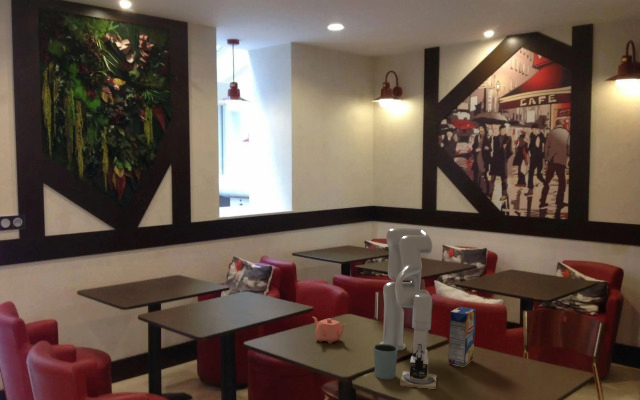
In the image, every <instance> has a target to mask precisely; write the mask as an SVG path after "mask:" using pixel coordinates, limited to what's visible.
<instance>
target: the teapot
mask: <svg viewBox="0 0 640 400" xmlns="http://www.w3.org/2000/svg"><path fill="white" fill-rule="evenodd" d="M312 319H314V329H315V333H314V334H315V338H316V339H317V340H318V341H319V342H327V343H328V344H333V343H334V342H338V341H339V340H340V339H341V338H342V336H343V333H344V329H345V327H346V325H347V323H342V324H341V322H340V321H338V320H336V319H332V318H324V319H322V320H318V318H317V317H315V316H312Z"/></svg>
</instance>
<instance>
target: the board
mask: <svg viewBox="0 0 640 400" xmlns="http://www.w3.org/2000/svg"><path fill="white" fill-rule="evenodd" d="M401 373H402V374H401V378H400V381H399V386H400V387H405V386H406V387H405V388H413V387H417V388H416V389H421V388H430V389H436V388H437V379H436V378H437V376H438V375H437V374H434V373H428V378H427V380H418V379H410V378H409V377H410V370H409V371H408V370H403V371H402V372H401ZM430 389H429V390H430Z"/></svg>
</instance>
